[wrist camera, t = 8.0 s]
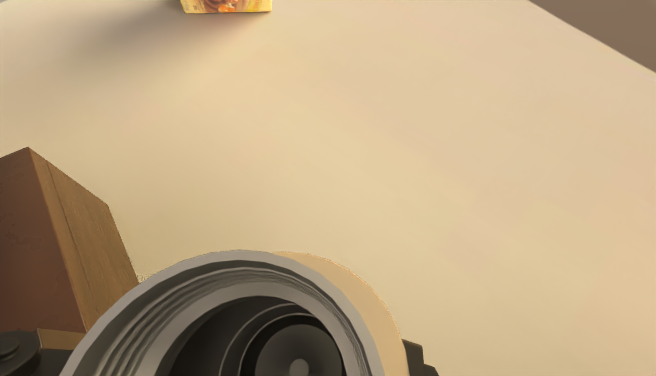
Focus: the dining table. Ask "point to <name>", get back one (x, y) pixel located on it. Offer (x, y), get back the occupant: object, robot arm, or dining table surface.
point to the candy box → (225, 6)
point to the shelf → (56, 253)
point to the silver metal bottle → (245, 322)
